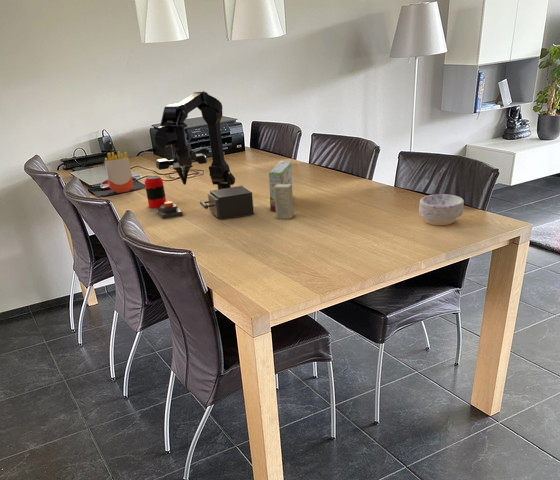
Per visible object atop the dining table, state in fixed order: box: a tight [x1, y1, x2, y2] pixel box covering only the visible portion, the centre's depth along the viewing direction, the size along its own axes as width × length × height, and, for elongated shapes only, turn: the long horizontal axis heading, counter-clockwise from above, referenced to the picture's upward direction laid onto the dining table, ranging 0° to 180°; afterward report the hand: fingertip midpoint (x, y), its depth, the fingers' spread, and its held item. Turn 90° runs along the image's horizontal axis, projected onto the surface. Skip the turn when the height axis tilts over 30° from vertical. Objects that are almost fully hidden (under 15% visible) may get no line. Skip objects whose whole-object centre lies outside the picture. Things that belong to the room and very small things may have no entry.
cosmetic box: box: [274, 183, 295, 220], centre depth 219 cm, size 6×4×12 cm
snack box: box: [268, 160, 293, 212], centre depth 234 cm, size 21×6×15 cm, turn 168°
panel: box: [157, 203, 183, 220], centre depth 234 cm, size 10×8×4 cm
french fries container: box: [104, 151, 134, 194], centre depth 268 cm, size 5×11×18 cm, turn 114°
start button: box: [164, 200, 174, 207], centre depth 233 cm, size 4×4×2 cm
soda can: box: [144, 175, 167, 209], centre depth 244 cm, size 8×8×12 cm
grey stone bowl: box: [418, 193, 465, 226], centre depth 204 cm, size 15×15×8 cm
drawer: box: [199, 192, 220, 219], centre depth 228 cm, size 17×11×7 cm
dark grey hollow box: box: [209, 185, 255, 221], centre depth 229 cm, size 14×13×9 cm
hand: (184, 184), depth 223 cm, fingers closed
